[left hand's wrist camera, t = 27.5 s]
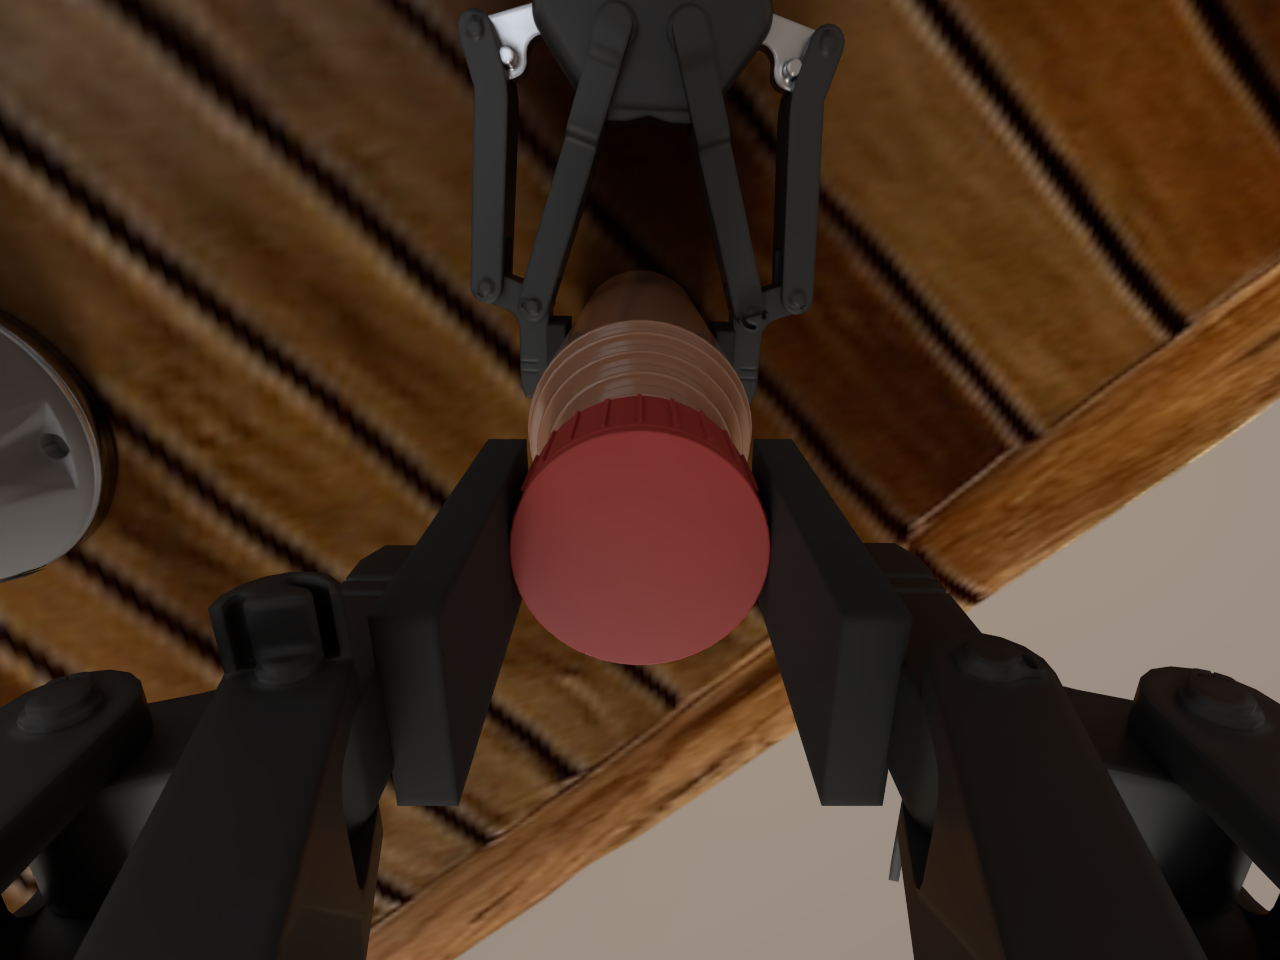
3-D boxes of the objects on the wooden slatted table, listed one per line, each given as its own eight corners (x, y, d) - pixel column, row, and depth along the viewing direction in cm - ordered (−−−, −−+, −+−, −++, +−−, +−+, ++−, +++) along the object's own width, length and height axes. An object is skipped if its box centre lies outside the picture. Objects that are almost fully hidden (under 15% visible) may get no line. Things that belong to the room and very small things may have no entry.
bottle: (634, 412, 37) (625, 724, 14) (556, 326, 35) (405, 521, 13) (723, 337, 35) (871, 550, 13) (645, 243, 34) (658, 296, 11)
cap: (576, 626, 15) (565, 697, 13) (490, 437, 14) (460, 480, 11) (778, 563, 15) (803, 625, 12) (713, 358, 13) (728, 387, 11)
